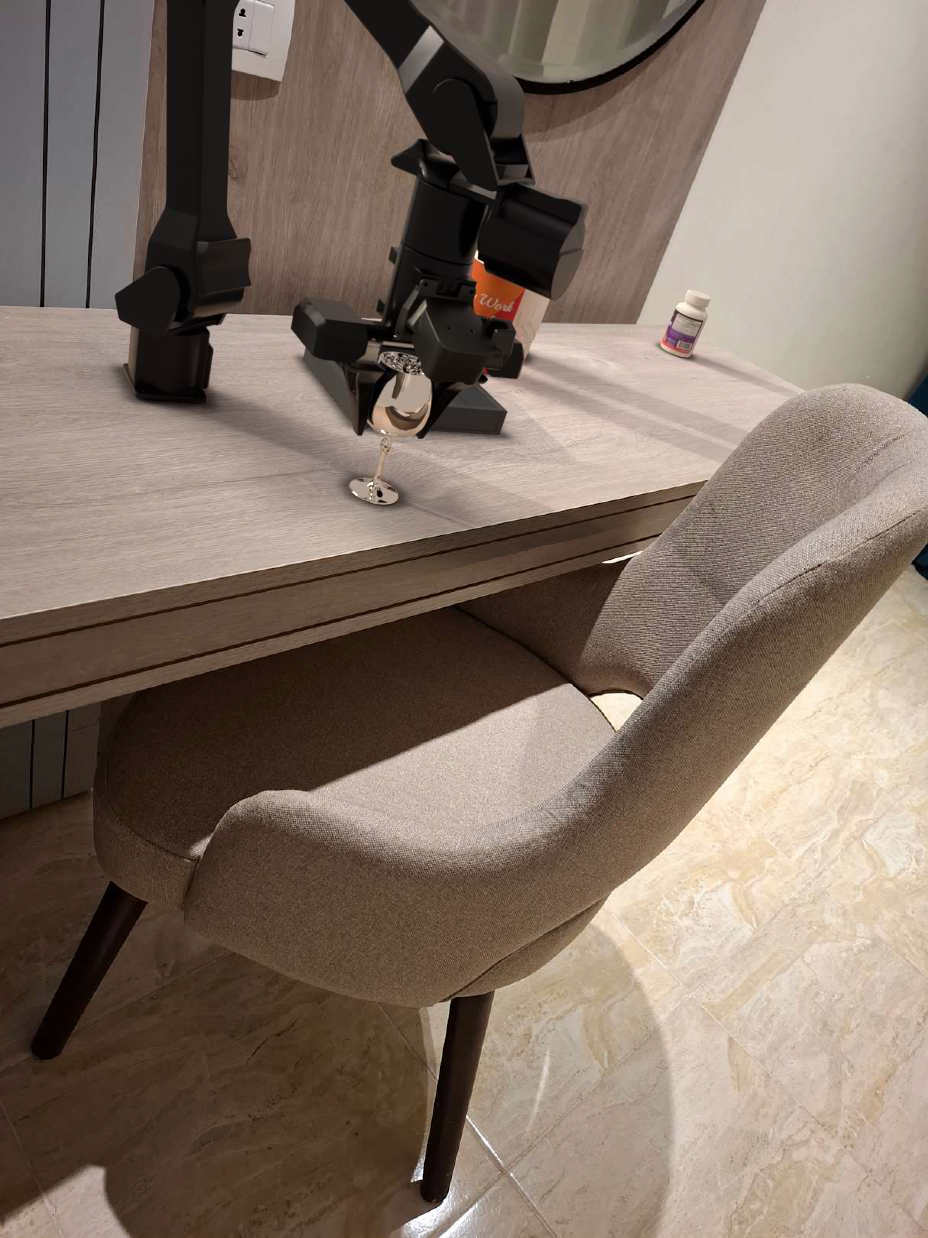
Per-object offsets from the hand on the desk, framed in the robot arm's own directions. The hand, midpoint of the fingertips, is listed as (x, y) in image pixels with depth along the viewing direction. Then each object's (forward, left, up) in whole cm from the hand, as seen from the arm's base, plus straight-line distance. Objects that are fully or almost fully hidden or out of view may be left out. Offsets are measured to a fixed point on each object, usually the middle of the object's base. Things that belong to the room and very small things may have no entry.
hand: (388, 435), depth 77 cm
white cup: (+36, +39, -6) cm, 53 cm away
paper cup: (+28, +33, -6) cm, 43 cm away
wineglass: (0, 0, -6) cm, 6 cm away
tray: (+12, +21, -6) cm, 24 cm away
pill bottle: (+76, +48, -6) cm, 90 cm away
